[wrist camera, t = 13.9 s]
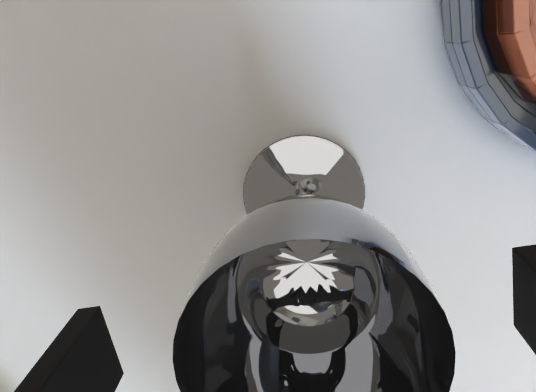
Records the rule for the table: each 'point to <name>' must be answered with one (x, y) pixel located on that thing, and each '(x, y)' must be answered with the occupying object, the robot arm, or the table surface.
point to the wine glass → (311, 290)
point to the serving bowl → (484, 73)
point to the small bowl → (513, 42)
